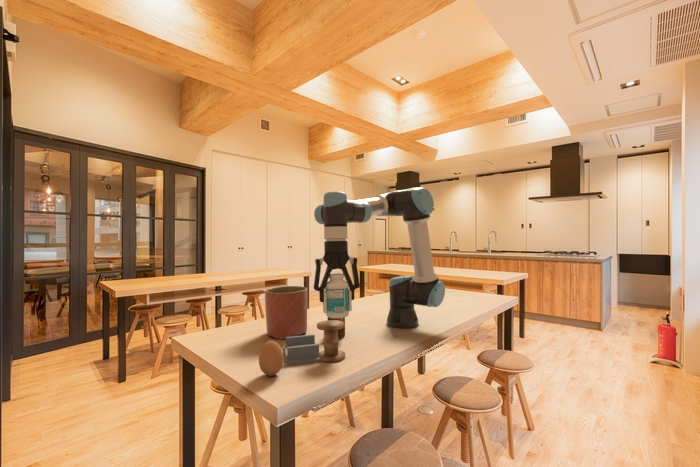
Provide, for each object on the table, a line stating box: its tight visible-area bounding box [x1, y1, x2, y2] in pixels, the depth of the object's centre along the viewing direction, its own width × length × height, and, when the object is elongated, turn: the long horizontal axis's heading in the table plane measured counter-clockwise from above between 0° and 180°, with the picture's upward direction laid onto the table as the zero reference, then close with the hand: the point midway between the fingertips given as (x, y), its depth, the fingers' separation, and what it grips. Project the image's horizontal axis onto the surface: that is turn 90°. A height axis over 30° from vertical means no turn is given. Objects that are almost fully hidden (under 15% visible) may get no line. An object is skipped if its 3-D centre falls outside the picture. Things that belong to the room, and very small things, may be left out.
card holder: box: [284, 333, 323, 367], centre depth 118 cm, size 12×18×5 cm, turn 14°
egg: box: [258, 340, 284, 377], centre depth 101 cm, size 8×8×11 cm
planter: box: [264, 285, 308, 341], centre depth 144 cm, size 19×19×20 cm
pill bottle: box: [324, 272, 350, 318], centre depth 102 cm, size 8×7×14 cm
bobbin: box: [316, 319, 346, 364], centre depth 114 cm, size 10×10×12 cm
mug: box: [327, 317, 346, 339], centre depth 137 cm, size 12×8×9 cm, turn 23°
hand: (337, 311), depth 102 cm, fingers closed on pill bottle, 7 cm apart
